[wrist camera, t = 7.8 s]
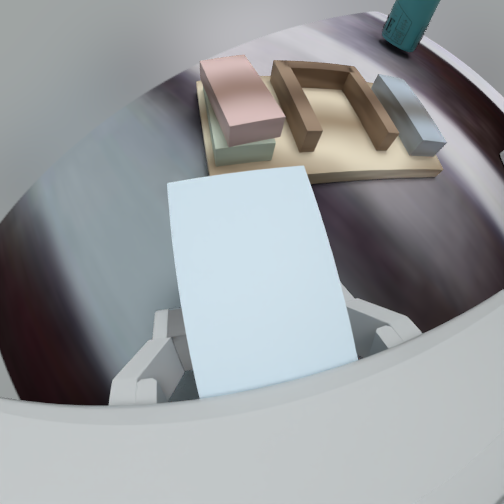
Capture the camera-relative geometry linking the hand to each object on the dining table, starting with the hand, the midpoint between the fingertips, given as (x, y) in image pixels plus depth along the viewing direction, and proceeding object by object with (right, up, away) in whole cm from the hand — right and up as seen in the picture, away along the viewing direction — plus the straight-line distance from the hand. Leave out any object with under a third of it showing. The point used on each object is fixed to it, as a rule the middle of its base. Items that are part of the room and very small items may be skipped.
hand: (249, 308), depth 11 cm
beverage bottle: (+24, +37, +22) cm, 49 cm away
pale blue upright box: (-1, -2, +7) cm, 7 cm away
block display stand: (+7, +14, +12) cm, 20 cm away
